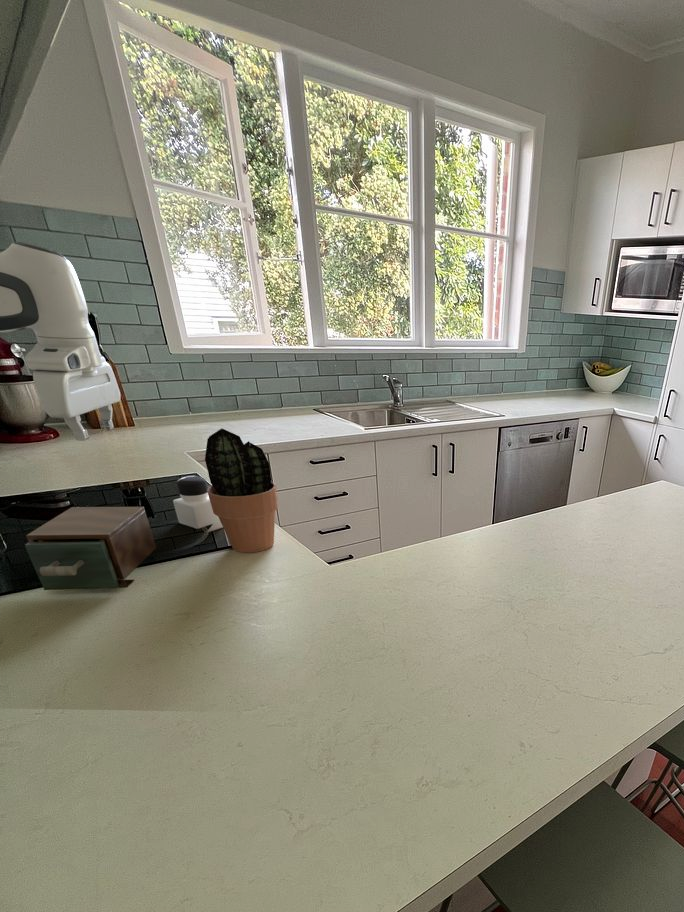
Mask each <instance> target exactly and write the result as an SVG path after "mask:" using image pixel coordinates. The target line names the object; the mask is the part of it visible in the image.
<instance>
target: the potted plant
mask: <svg viewBox="0 0 684 912" xmlns="http://www.w3.org/2000/svg"><path fill="white" fill-rule="evenodd" d="M205 447H206V448H205V453H204V454H205V457H204V461H205V465H206V470H207V475H208V478H209V482H210V484H211V485H209V486H208V489H207V492H208V496H209V499H210V502H211V506H212V509H213V513H214V514H215V515H217V516H218V517H219V519H220V522H221V524H222V526H223V528H222V529H223V531H224V532H225V535H226V537H227V539H228V542H229V544H230V546H231V548H232V549H233V550H234V551H236V552H239V553H258V552H262V551H266V550H268V549H270V548H271V547H273V546H274V543H275V524H276V511H277V510H278V507H279V502H278V494H277V486H276V484H275V482H273V480H272V474H271V473H272V472H271V466H270V462H269V460H268V458H267V456H266V454H265V452H264V450H263V448H261V447H260V446H257V445H256V444H254V443H252V442H250V440H248V441H247V442H246V443H244V442H243V440H242V439H241V437H240V435H238V434H236V433H233V432H231V431H230V430H227V429H224V428H219V429H218V430H216V431H215V432H214V433H212V434H211V435H209V436H208V437H207V441H206V446H205Z"/></svg>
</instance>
